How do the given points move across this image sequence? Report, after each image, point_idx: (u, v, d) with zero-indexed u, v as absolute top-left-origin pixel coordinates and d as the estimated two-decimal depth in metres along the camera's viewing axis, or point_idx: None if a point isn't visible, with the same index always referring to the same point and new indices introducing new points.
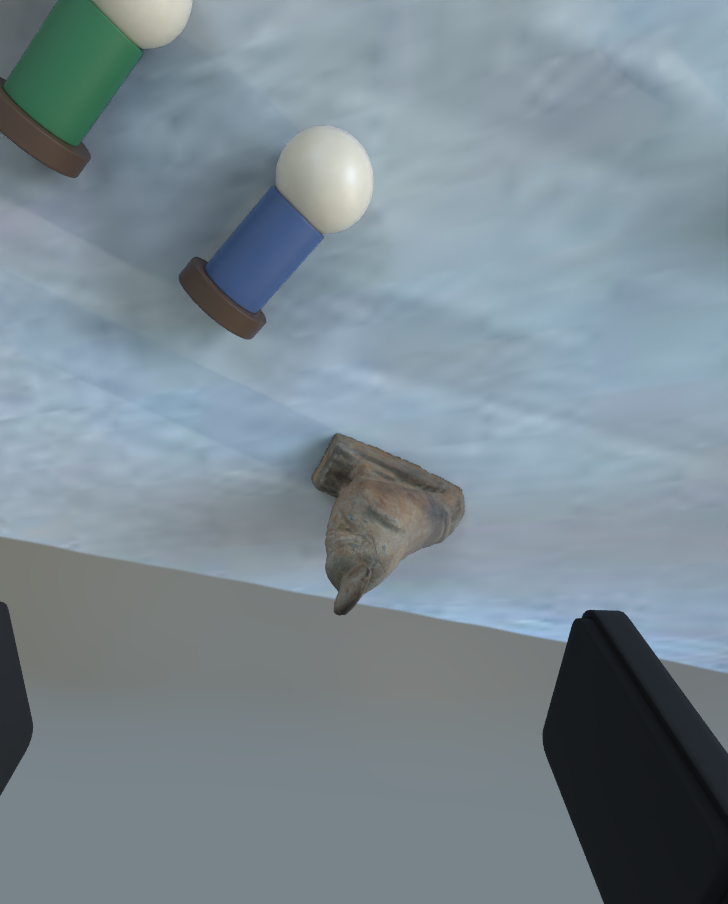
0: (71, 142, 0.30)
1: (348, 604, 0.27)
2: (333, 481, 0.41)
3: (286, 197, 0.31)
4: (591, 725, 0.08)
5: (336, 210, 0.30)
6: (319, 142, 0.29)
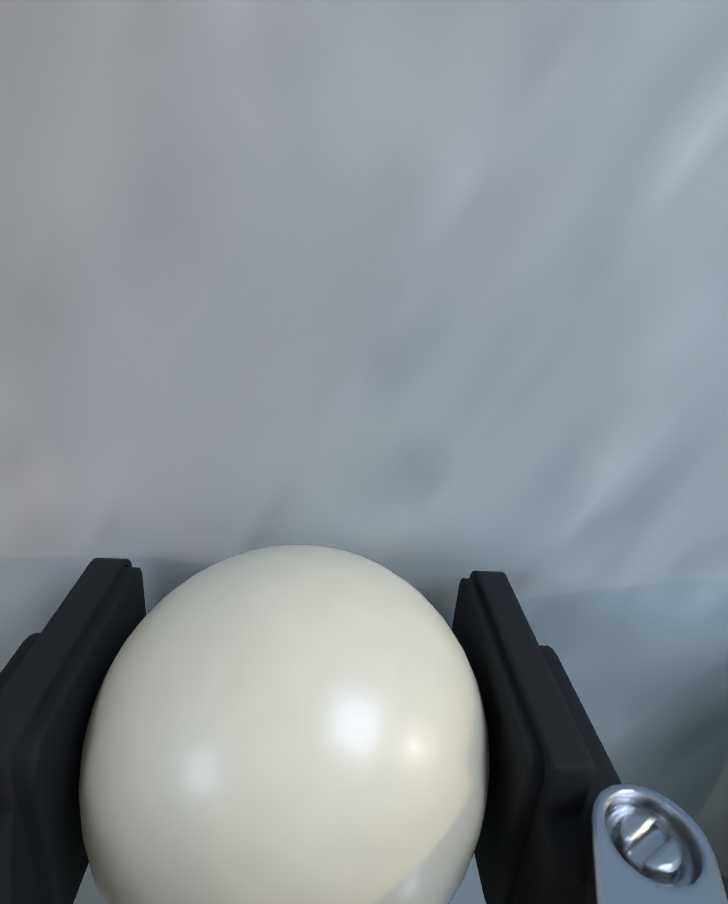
0: None
1: None
2: None
3: None
4: None
5: None
6: None
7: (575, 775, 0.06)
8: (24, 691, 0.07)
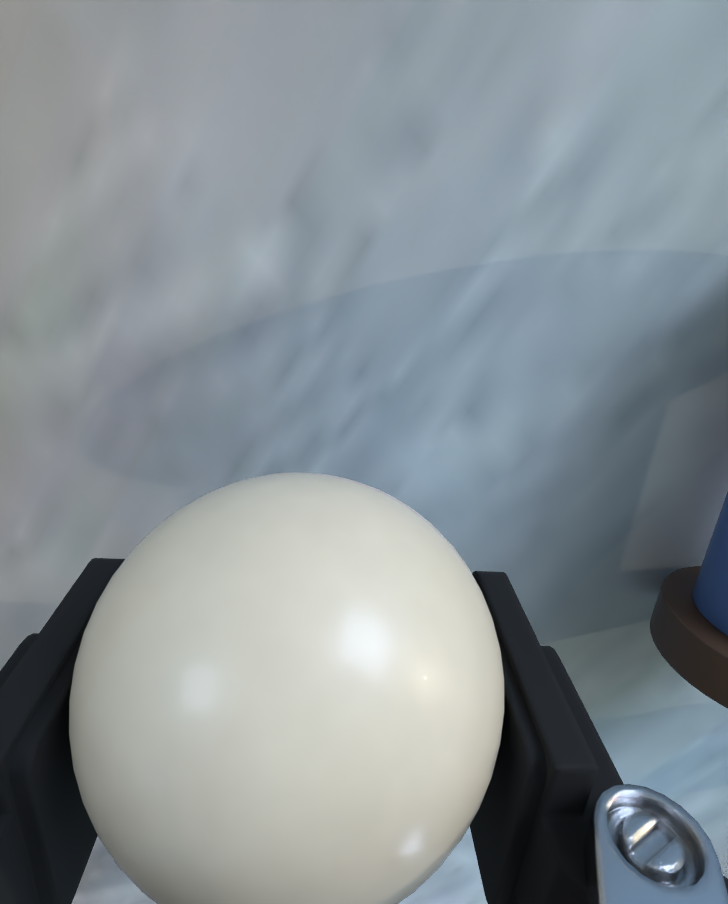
0: None
1: None
2: None
3: None
4: None
5: None
6: None
7: (577, 775, 0.06)
8: (22, 691, 0.07)
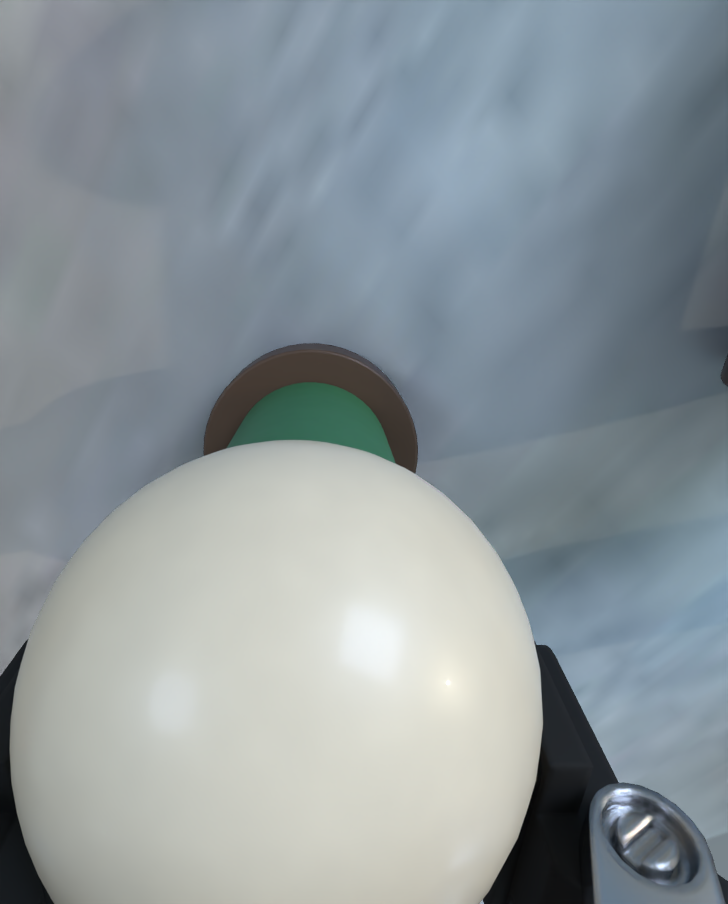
0: None
1: None
2: None
3: None
4: None
5: None
6: None
7: (571, 774, 0.06)
8: None
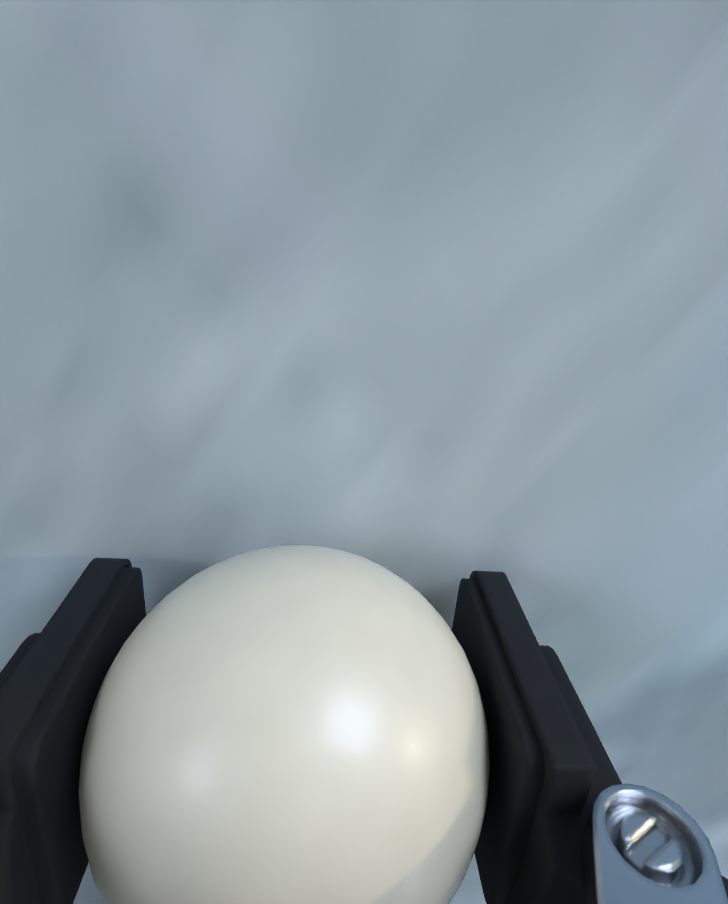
0: None
1: None
2: None
3: None
4: None
5: None
6: (145, 842, 0.06)
7: (575, 775, 0.06)
8: (24, 691, 0.07)
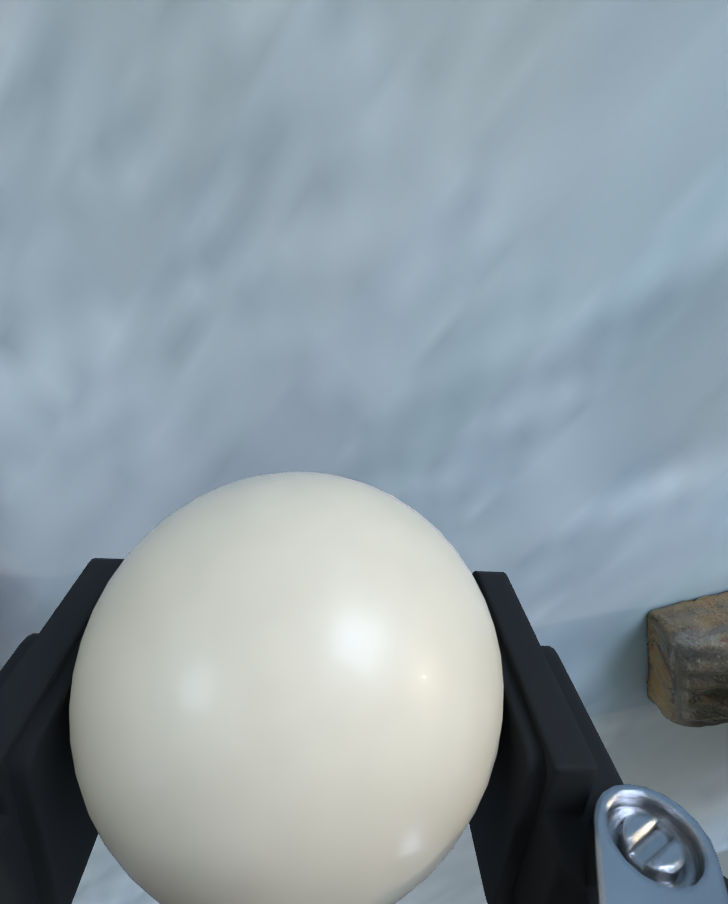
0: None
1: None
2: (713, 706, 0.19)
3: None
4: None
5: None
6: (149, 893, 0.06)
7: (577, 775, 0.06)
8: (22, 691, 0.07)
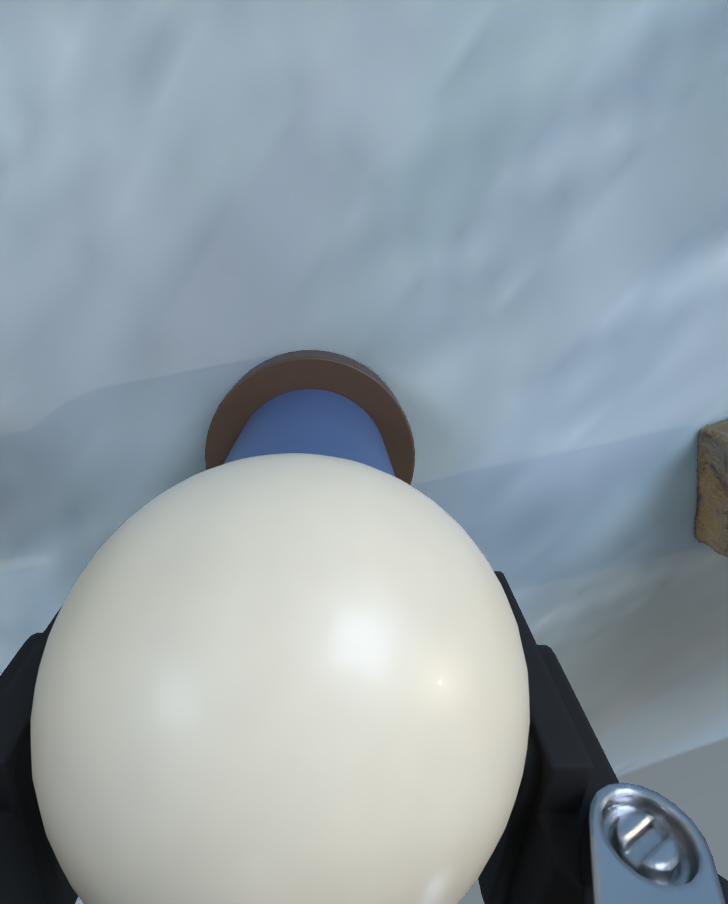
0: None
1: None
2: None
3: None
4: None
5: None
6: None
7: (572, 774, 0.06)
8: (27, 690, 0.07)
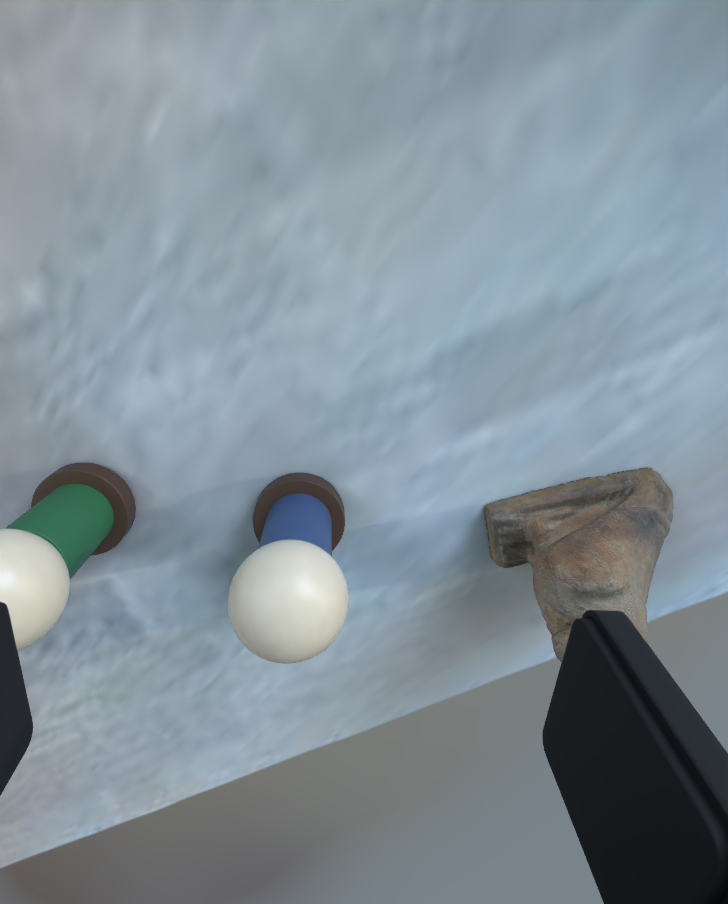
0: (112, 524, 0.33)
1: None
2: (514, 553, 0.35)
3: None
4: (591, 725, 0.08)
5: None
6: None
7: None
8: None
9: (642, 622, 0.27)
